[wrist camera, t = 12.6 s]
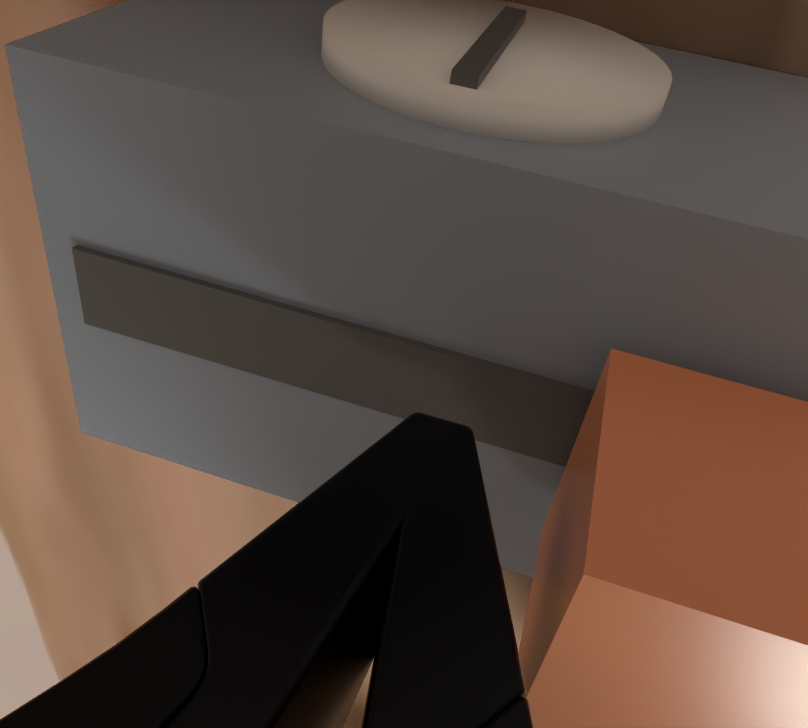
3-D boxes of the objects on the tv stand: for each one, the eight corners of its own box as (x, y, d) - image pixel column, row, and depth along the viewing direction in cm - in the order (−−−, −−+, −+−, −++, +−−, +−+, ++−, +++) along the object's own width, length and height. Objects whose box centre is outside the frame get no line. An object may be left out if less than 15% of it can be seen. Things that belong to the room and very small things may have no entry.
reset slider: (778, 602, 9) (812, 866, 7) (541, 529, 10) (499, 754, 7) (910, 430, 7) (1016, 711, 5) (610, 347, 8) (583, 575, 6)
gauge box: (701, 382, 15) (711, 641, 10) (246, 258, 17) (77, 436, 12) (866, 49, 11) (1004, 228, 6) (245, -79, 13) (-12, -8, 8)
